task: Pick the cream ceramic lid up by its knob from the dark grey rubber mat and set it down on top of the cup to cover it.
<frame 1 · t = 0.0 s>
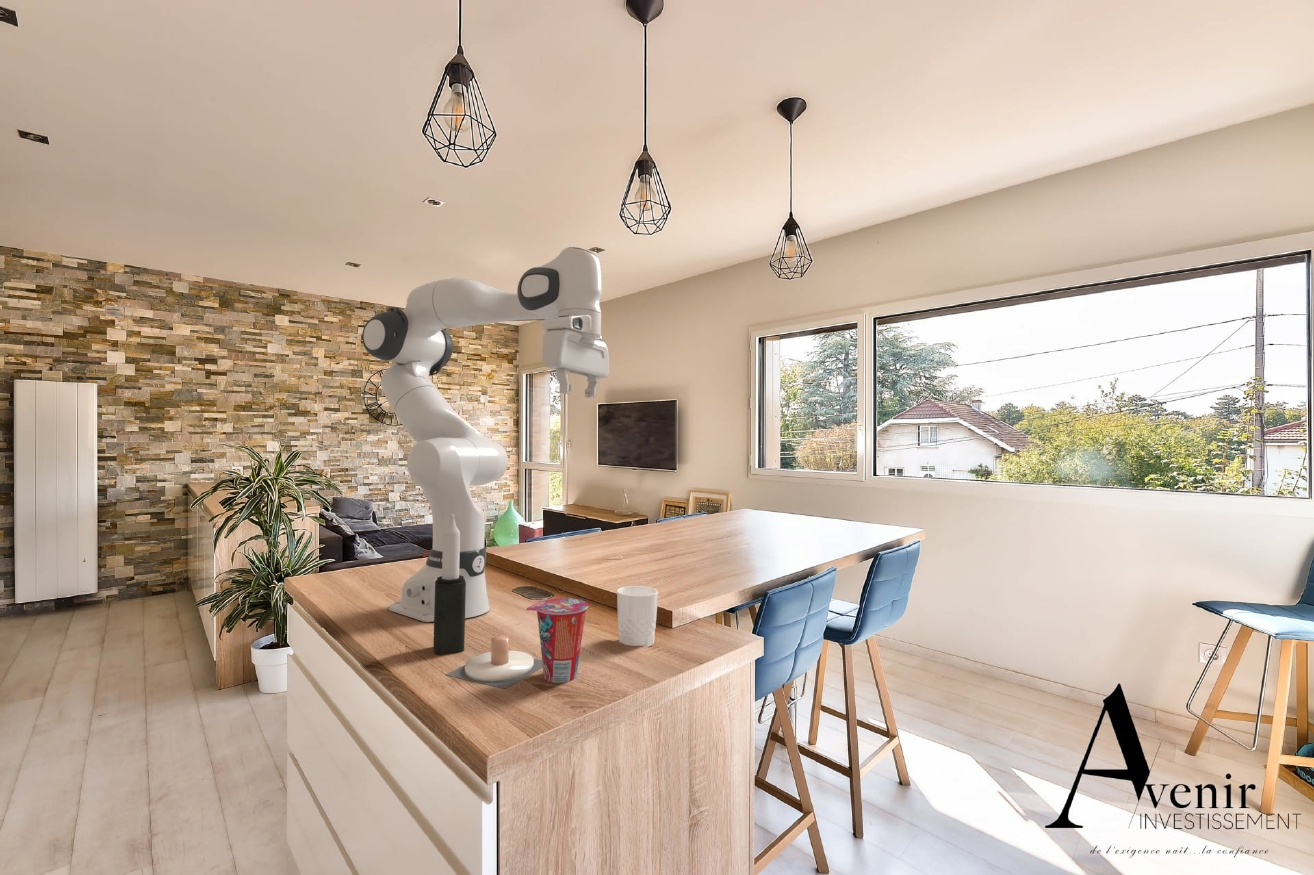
hand: (578, 395, 116), 48 cm above the table, fingers open, 8 cm apart
white cup: (636, 643, 109), on the table
mat: (499, 671, 94), on the table
lid: (499, 668, 94), point 1 cm above the table, touching mat
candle: (448, 653, 103), on the table
cup: (557, 681, 91), on the table
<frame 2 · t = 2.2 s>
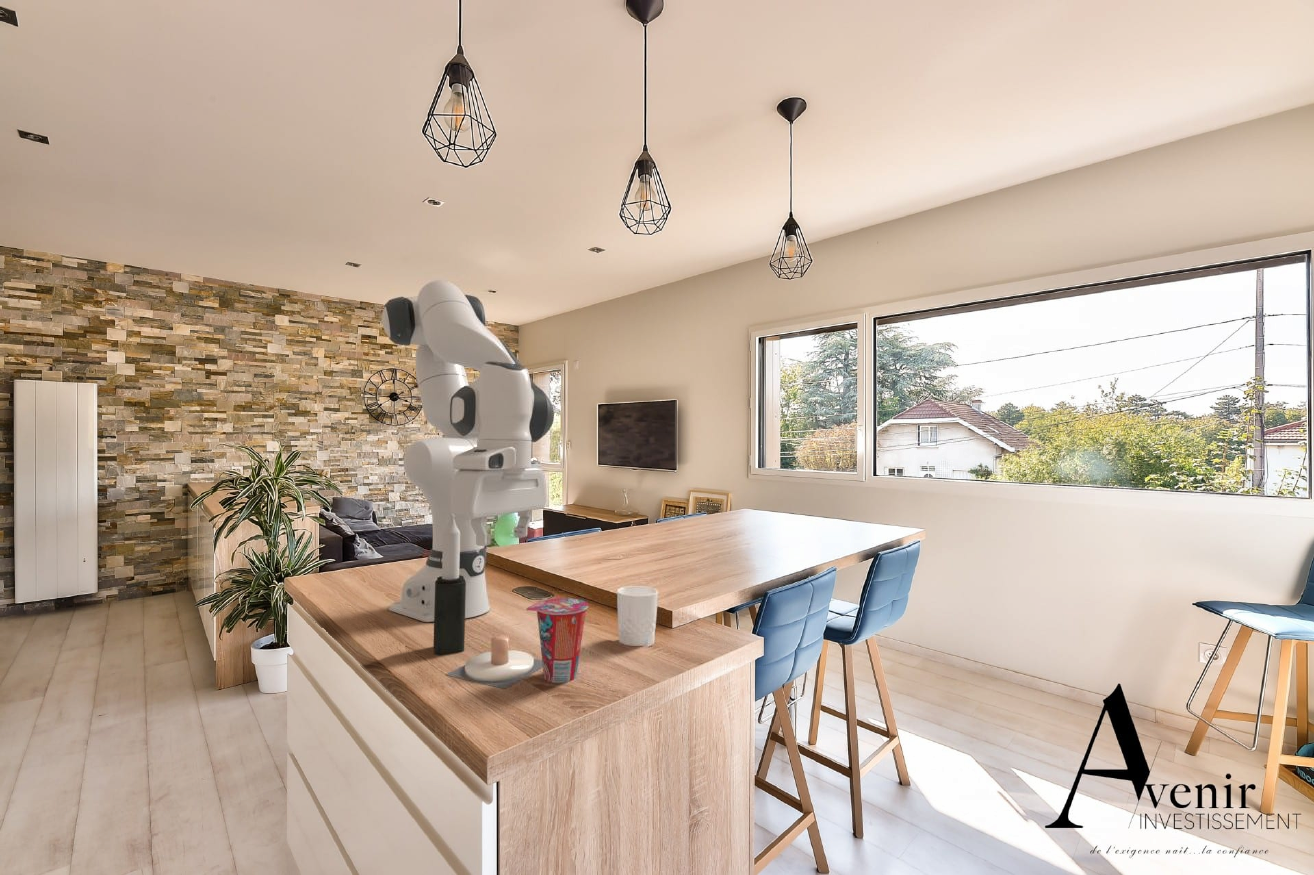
hand: (502, 541, 94), 22 cm above the table, fingers open, 8 cm apart
nothing on the table moved.
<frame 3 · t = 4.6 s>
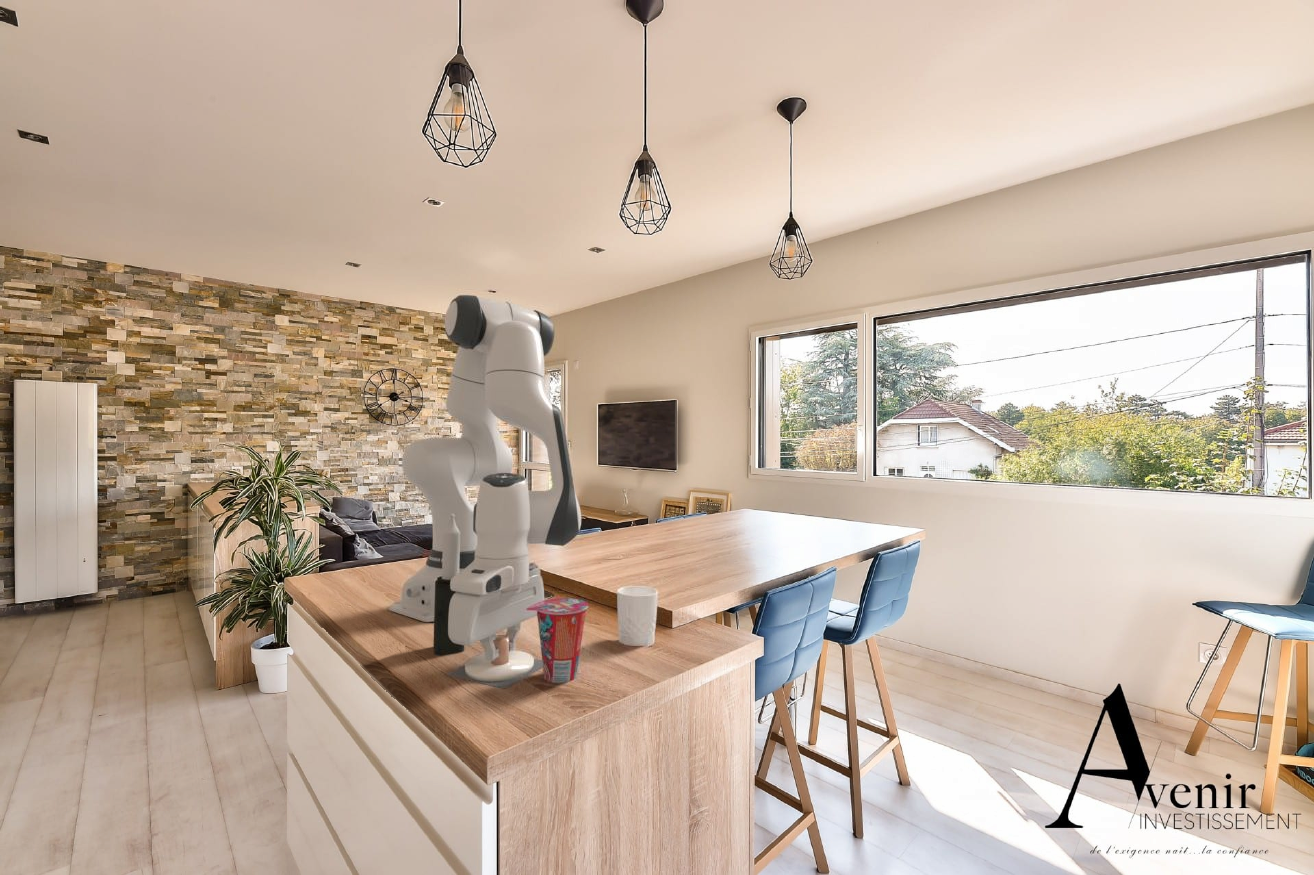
hand: (500, 655, 94), 3 cm above the table, fingers closed on lid, 3 cm apart
lid: (499, 668, 94), point 1 cm above the table, touching gripper, mat
everything else where it was.
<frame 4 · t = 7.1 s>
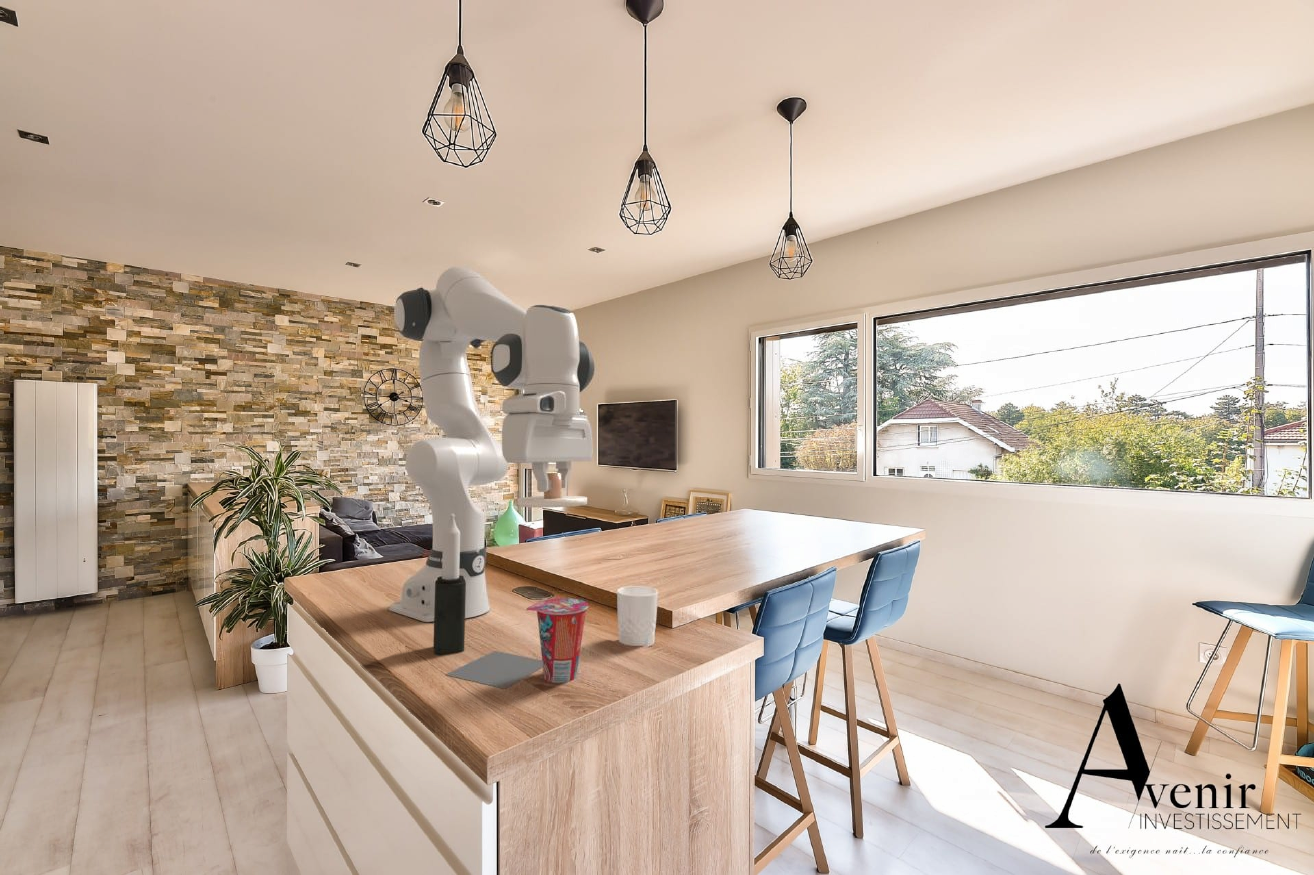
hand: (552, 491, 91), 30 cm above the table, fingers closed on lid, 3 cm apart
lid: (552, 504, 91), point 28 cm above the table, touching gripper
everything else where it was.
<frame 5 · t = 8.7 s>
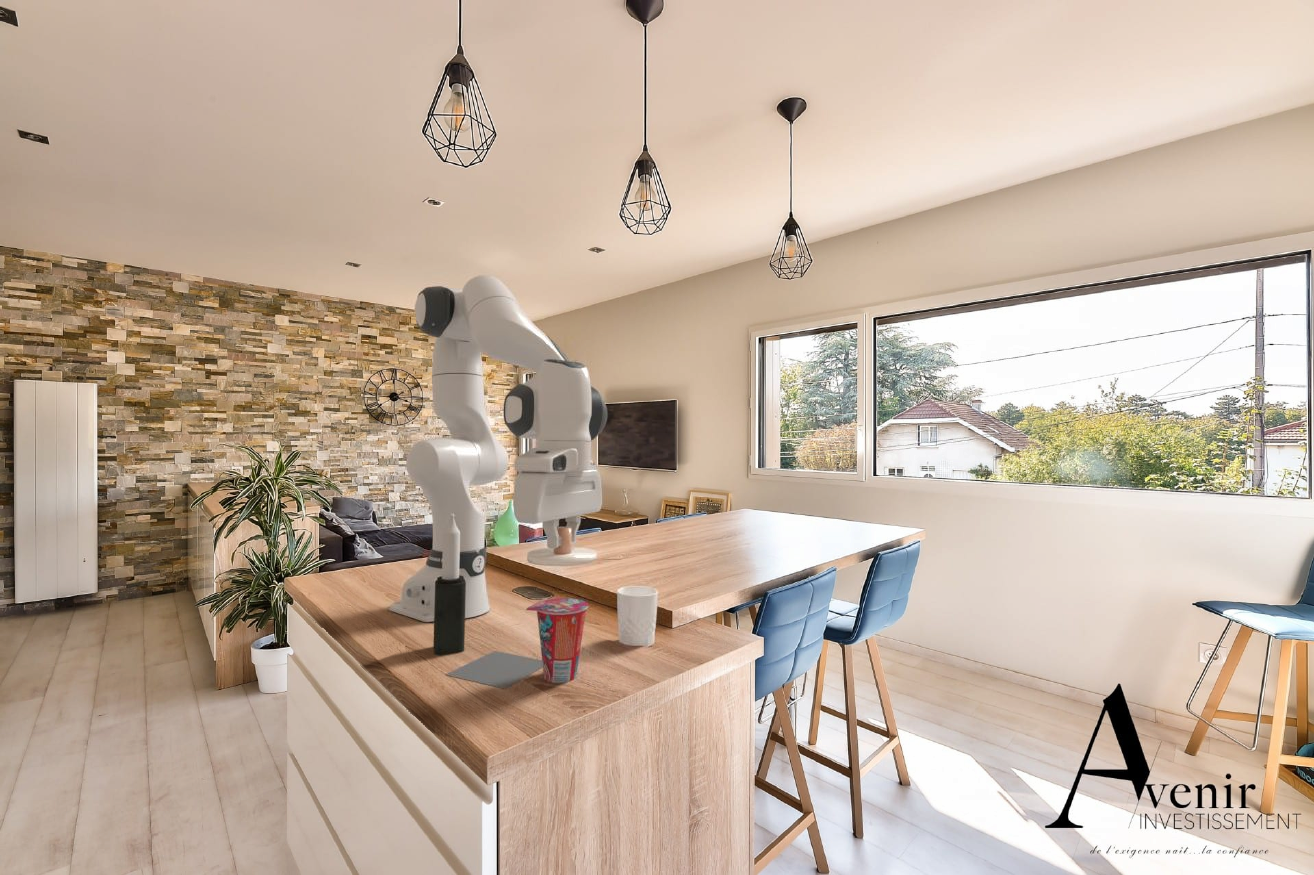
hand: (561, 545, 91), 22 cm above the table, fingers closed on lid, 3 cm apart
lid: (562, 559, 91), point 20 cm above the table, touching gripper
everything else where it was.
when the fingers open (16 cm above the table, at t = 10.0 s): lid drops 2 cm, resting on cup.
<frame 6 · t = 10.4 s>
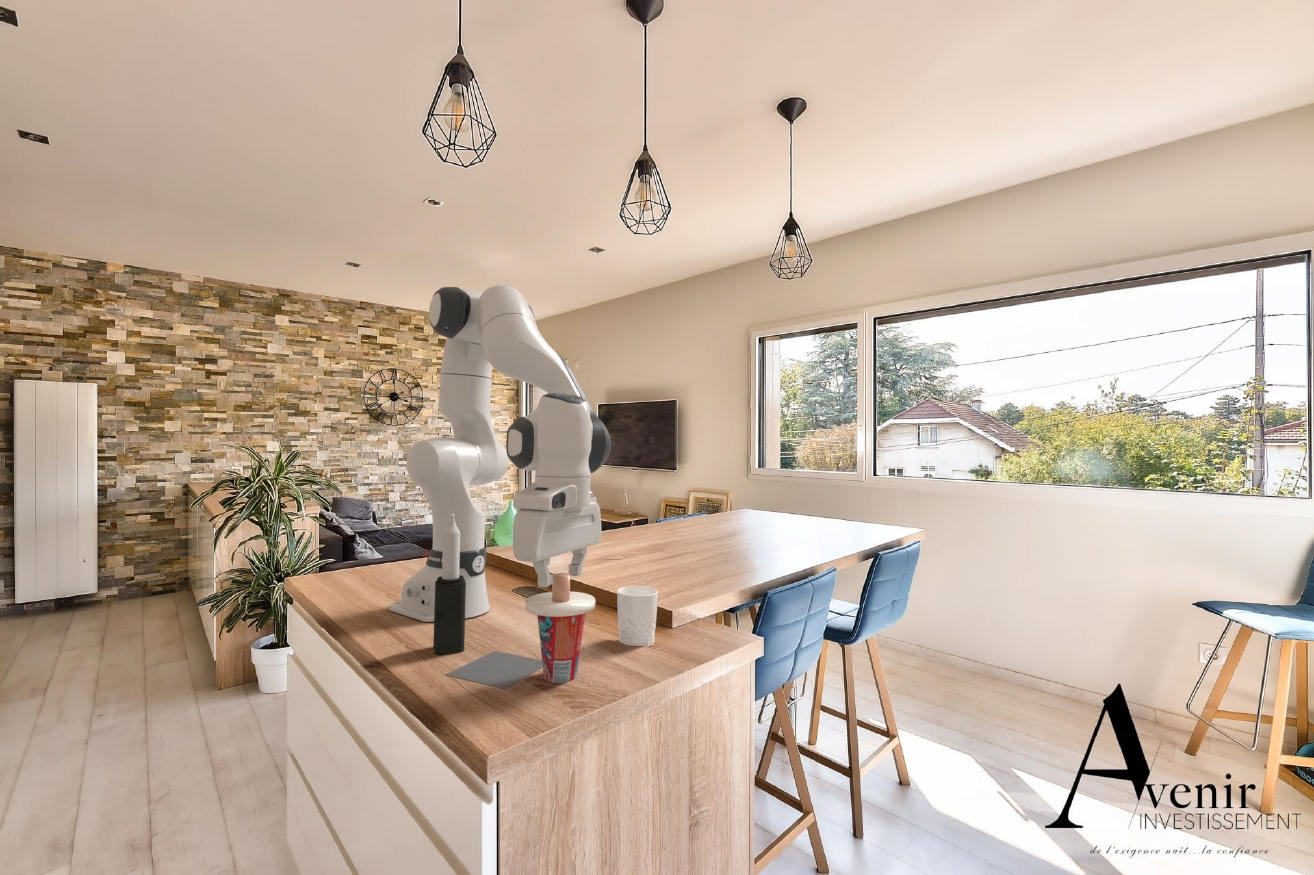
hand: (560, 580, 91), 16 cm above the table, fingers open, 7 cm apart
lid: (560, 606, 91), point 12 cm above the table, touching cup
cup: (557, 681, 91), on the table, touching lid
everything else where it was.
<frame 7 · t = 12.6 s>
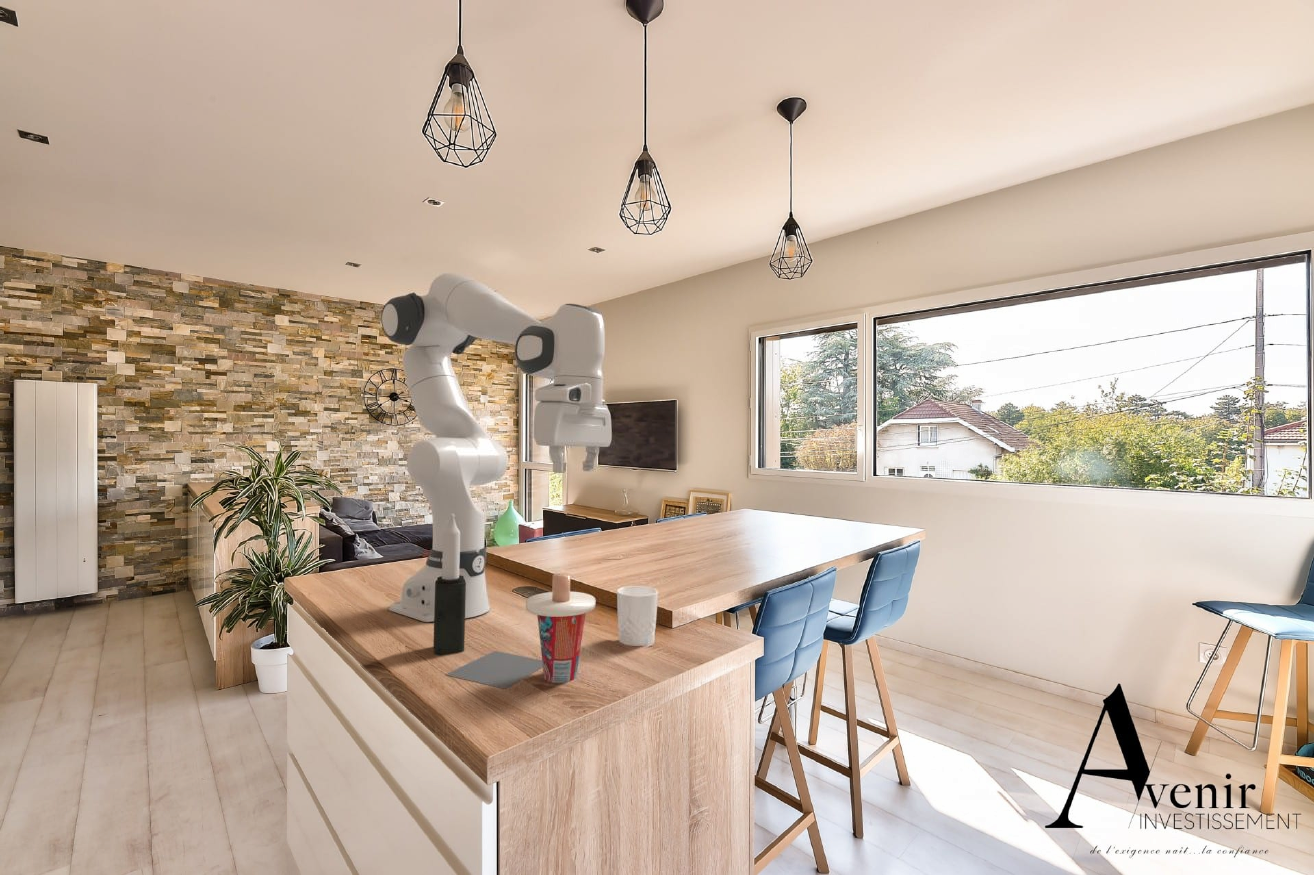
hand: (574, 472, 102), 33 cm above the table, fingers open, 8 cm apart
nothing on the table moved.
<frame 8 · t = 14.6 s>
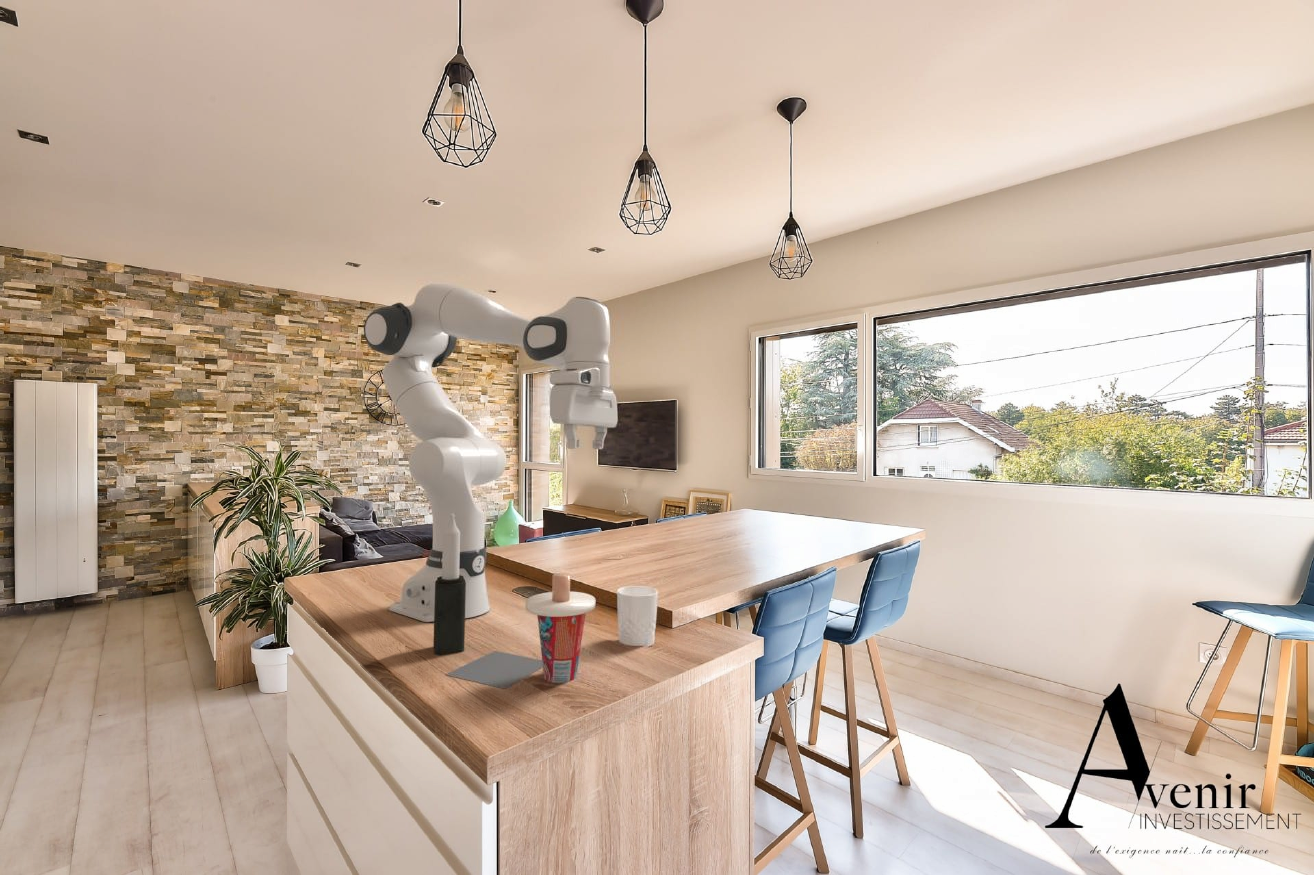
hand: (585, 449, 113), 37 cm above the table, fingers open, 8 cm apart
nothing on the table moved.
at the end: lid 0.6 cm from the cup (horizontally); lid point 12.0 cm above the table; lid tilted 0° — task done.
